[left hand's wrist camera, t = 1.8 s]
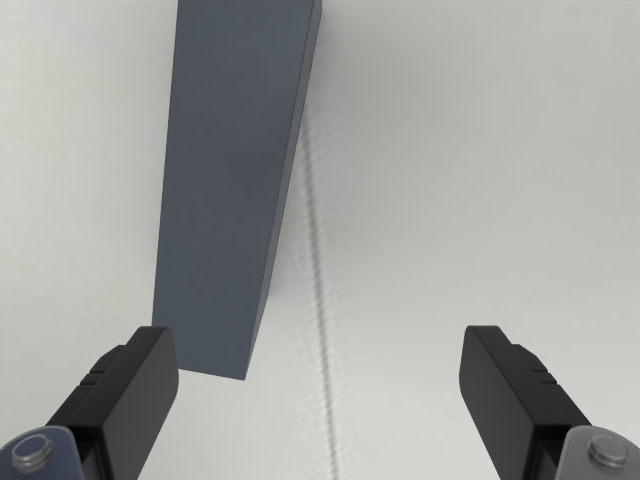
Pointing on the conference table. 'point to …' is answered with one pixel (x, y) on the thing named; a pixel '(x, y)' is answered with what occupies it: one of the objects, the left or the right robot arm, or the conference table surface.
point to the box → (228, 171)
